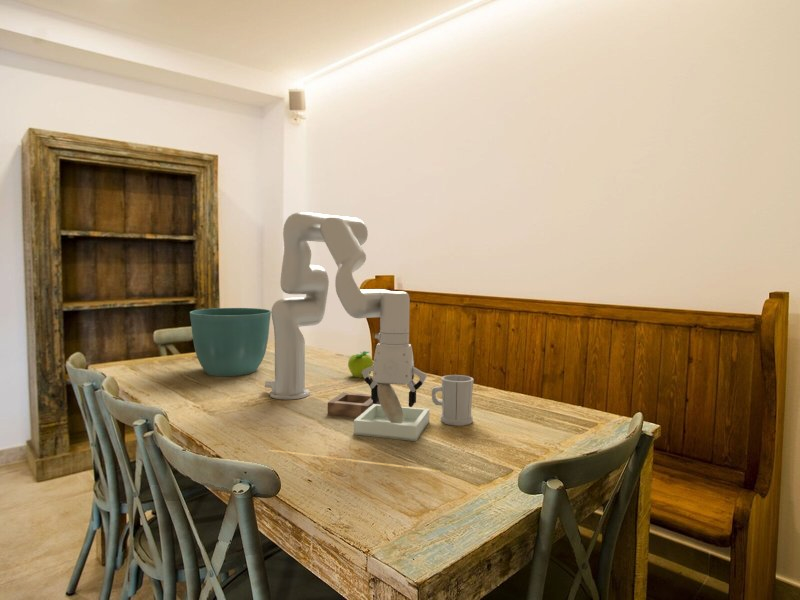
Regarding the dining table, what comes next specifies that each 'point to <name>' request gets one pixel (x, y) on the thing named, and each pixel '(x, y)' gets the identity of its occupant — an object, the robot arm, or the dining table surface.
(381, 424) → the tray
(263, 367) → the dining table surface
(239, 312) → the flower pot
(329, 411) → the pocket frame
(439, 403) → the cup
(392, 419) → the stone
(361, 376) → the fruit
